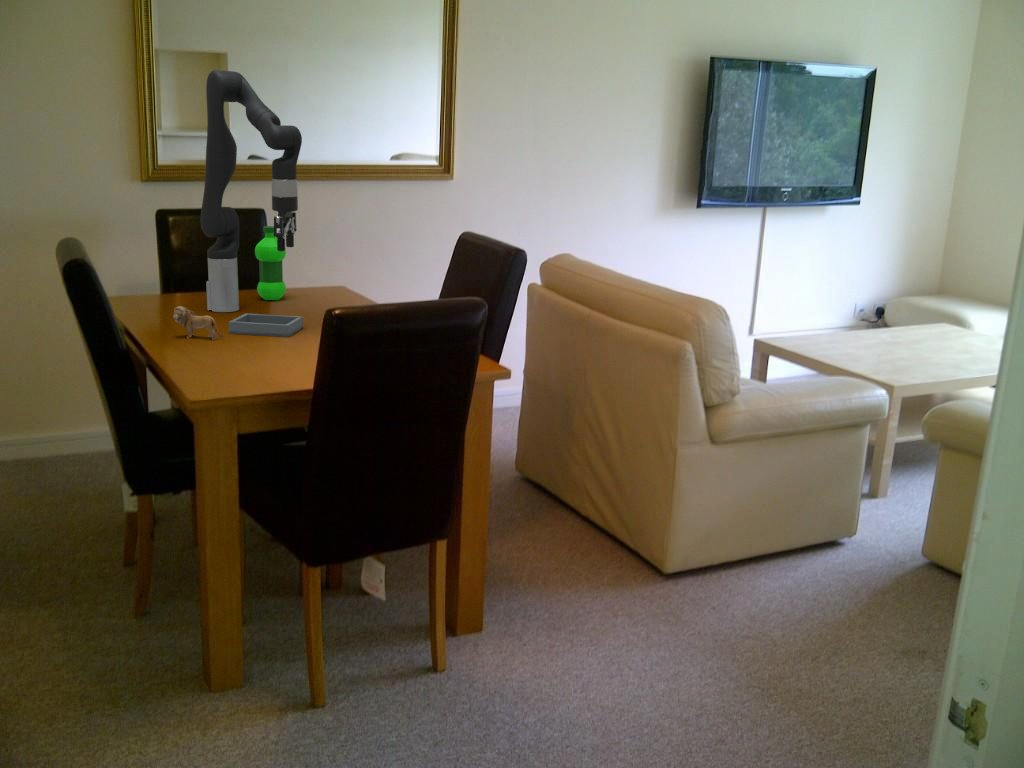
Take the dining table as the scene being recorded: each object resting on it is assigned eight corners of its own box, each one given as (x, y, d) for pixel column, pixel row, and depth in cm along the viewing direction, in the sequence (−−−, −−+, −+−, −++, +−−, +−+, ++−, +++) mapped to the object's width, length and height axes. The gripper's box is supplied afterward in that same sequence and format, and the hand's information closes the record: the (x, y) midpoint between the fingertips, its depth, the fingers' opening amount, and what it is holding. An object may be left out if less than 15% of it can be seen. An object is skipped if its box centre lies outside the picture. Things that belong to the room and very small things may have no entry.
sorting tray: (229, 333, 306) (228, 322, 305) (246, 324, 319) (245, 313, 318) (288, 337, 304) (288, 325, 303) (303, 328, 317) (303, 316, 316)
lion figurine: (171, 338, 298) (169, 307, 296) (178, 334, 303) (176, 304, 301) (221, 341, 297) (220, 310, 295) (227, 336, 302) (226, 306, 300)
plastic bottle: (253, 297, 362) (251, 225, 355) (283, 296, 366) (281, 224, 359) (259, 302, 353) (257, 229, 346) (290, 301, 357) (288, 228, 351)
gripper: (279, 192, 315) (280, 245, 319) (264, 196, 301) (265, 251, 306) (304, 193, 314) (304, 246, 319) (289, 197, 301) (290, 253, 305)
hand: (285, 249), depth 312 cm, fingers open, 8 cm apart
